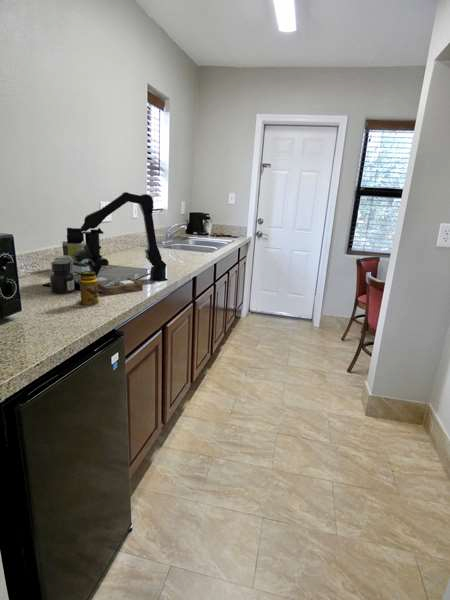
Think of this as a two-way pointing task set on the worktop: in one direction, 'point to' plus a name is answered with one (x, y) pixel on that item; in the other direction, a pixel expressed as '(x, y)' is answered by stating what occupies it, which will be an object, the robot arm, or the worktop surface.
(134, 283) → the tile
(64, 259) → the can
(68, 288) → the ink bottle
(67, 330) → the worktop surface
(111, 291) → the corral
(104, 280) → the tile
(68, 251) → the tea box
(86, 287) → the condiment
